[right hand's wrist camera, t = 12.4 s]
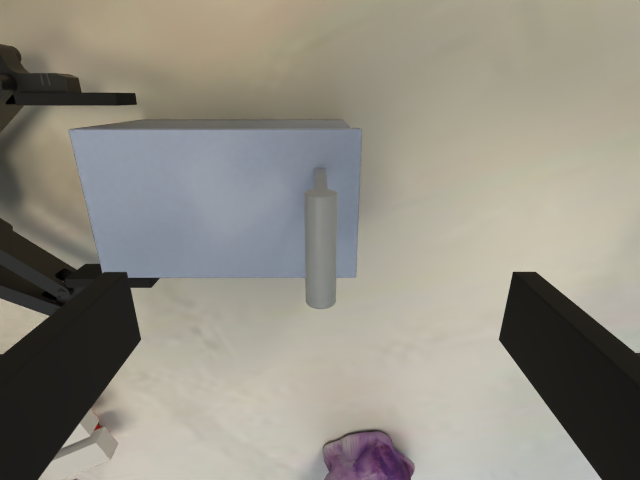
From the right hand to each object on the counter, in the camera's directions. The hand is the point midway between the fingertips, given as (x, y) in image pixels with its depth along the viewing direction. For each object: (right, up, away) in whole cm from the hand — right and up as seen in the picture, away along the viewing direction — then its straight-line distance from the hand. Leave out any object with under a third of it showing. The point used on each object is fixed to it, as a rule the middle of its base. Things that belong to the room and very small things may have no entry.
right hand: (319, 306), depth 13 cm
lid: (-6, +5, +12) cm, 14 cm away
